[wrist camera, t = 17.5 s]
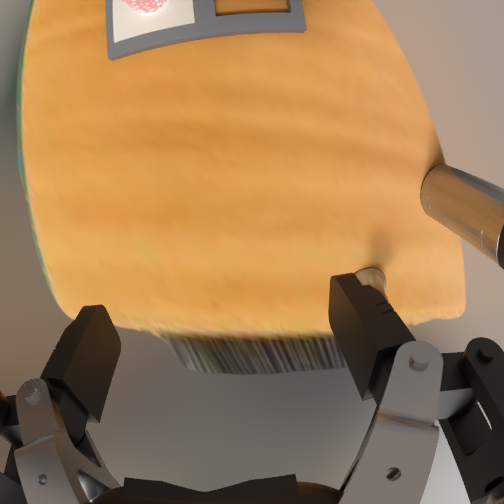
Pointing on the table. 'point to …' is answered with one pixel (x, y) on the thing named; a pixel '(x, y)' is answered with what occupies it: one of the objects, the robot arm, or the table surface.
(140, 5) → the beverage cup
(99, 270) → the table surface
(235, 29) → the hole board
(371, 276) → the hand bell
